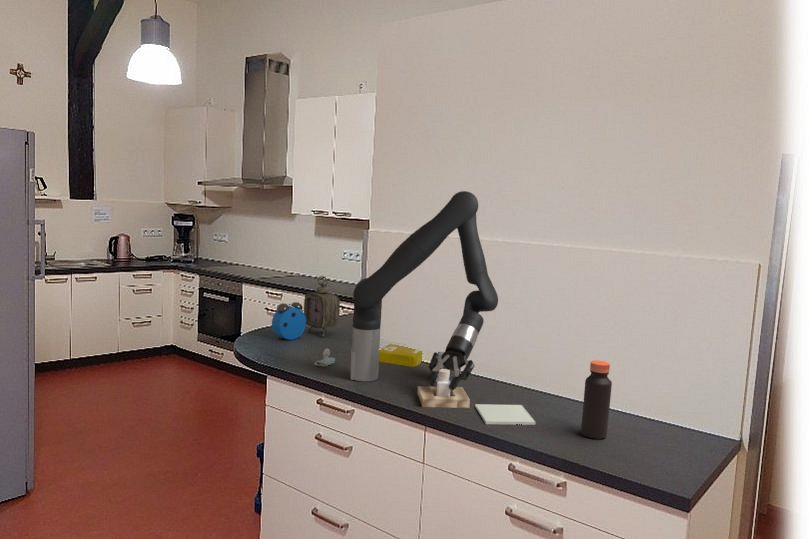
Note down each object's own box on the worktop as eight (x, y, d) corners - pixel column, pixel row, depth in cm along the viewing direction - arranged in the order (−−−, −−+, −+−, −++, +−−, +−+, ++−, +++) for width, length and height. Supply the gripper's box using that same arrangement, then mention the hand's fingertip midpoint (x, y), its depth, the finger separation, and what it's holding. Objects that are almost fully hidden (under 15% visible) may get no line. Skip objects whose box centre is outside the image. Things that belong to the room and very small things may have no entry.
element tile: (414, 368, 229) (415, 355, 229) (375, 362, 234) (376, 349, 234) (427, 358, 243) (428, 346, 243) (390, 353, 248) (391, 341, 248)
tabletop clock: (303, 332, 275) (304, 274, 272) (320, 329, 281) (322, 273, 278) (322, 338, 264) (324, 279, 261) (340, 336, 270) (342, 277, 267)
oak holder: (422, 407, 187) (422, 399, 187) (417, 394, 199) (418, 386, 199) (469, 407, 189) (469, 399, 188) (461, 394, 200) (462, 387, 200)
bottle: (592, 441, 168) (598, 367, 165) (575, 431, 174) (581, 360, 171) (612, 438, 170) (619, 365, 168) (595, 429, 176) (601, 358, 174)
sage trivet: (485, 424, 176) (486, 421, 176) (475, 406, 190) (475, 404, 190) (535, 424, 177) (535, 422, 177) (521, 407, 191) (521, 404, 191)
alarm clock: (298, 335, 268) (299, 300, 266) (306, 338, 264) (307, 302, 262) (270, 339, 259) (271, 302, 257) (279, 342, 255) (280, 305, 253)
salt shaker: (436, 398, 196) (437, 368, 195) (449, 399, 196) (450, 369, 195) (436, 402, 192) (438, 371, 191) (449, 403, 192) (451, 372, 191)
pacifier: (310, 365, 225) (322, 368, 222) (310, 348, 225) (322, 351, 221) (325, 362, 231) (337, 364, 227) (325, 345, 230) (337, 347, 227)
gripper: (438, 330, 202) (416, 375, 193) (479, 338, 194) (457, 385, 185) (446, 344, 207) (424, 388, 198) (486, 352, 199) (465, 398, 190)
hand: (440, 386), depth 192 cm, fingers open, 6 cm apart
